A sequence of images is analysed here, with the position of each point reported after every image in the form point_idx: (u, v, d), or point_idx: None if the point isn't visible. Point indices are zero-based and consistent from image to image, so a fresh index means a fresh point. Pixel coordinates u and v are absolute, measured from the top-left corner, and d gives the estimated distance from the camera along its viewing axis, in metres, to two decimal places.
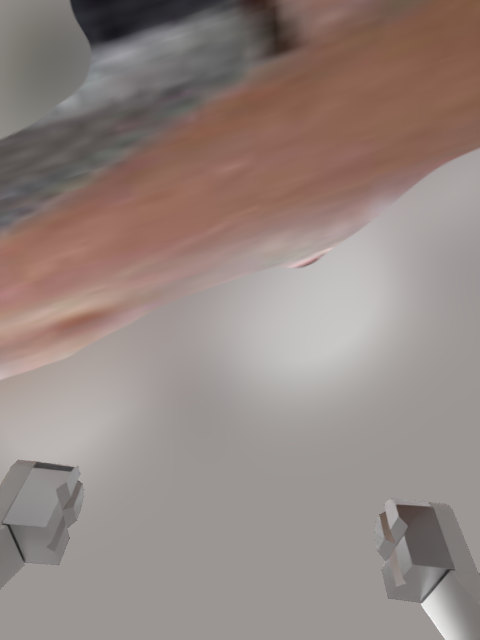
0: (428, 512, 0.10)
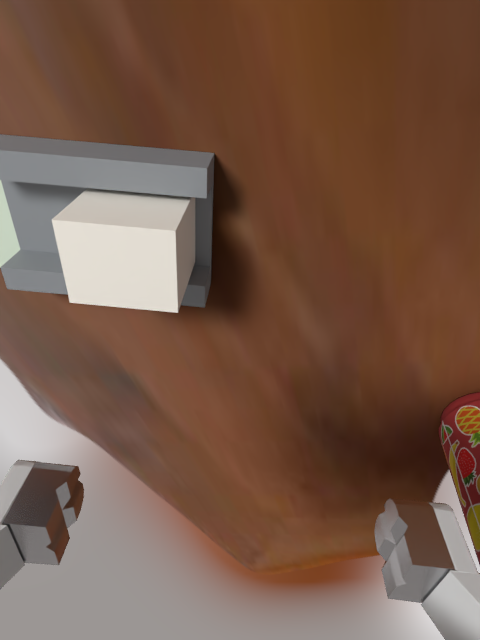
0: (428, 512, 0.10)
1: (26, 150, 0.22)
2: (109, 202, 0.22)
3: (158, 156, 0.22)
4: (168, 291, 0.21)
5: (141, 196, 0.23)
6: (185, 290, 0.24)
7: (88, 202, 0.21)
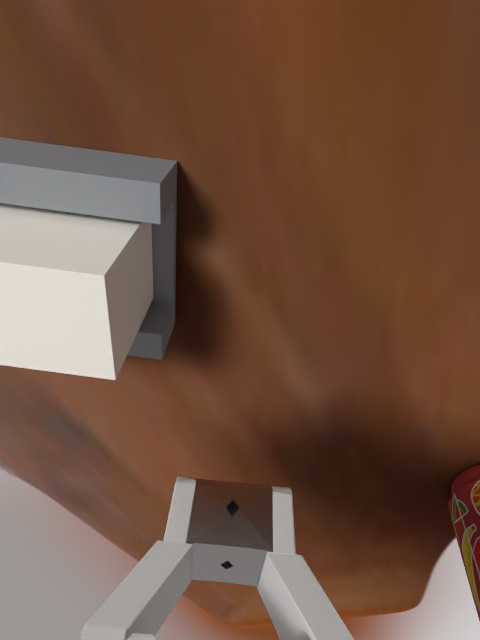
0: (265, 495, 0.10)
1: None
2: (23, 224, 0.16)
3: (96, 162, 0.16)
4: (99, 353, 0.15)
5: (72, 216, 0.17)
6: None
7: None
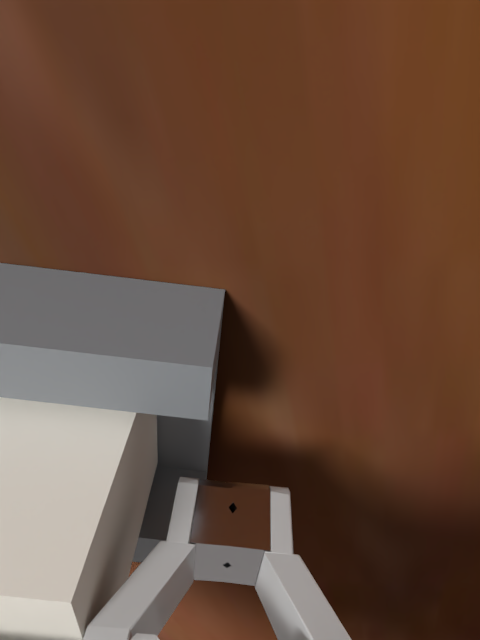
0: (263, 495, 0.10)
1: None
2: None
3: (94, 311, 0.09)
4: None
5: None
6: None
7: None
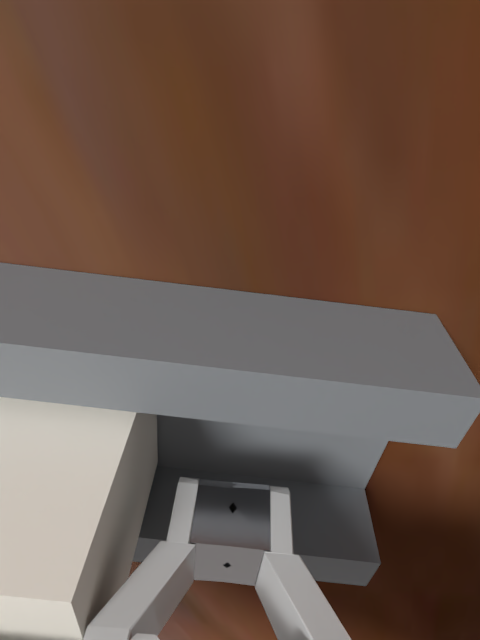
0: (263, 495, 0.10)
1: (21, 332, 0.08)
2: None
3: (338, 339, 0.09)
4: None
5: None
6: None
7: None
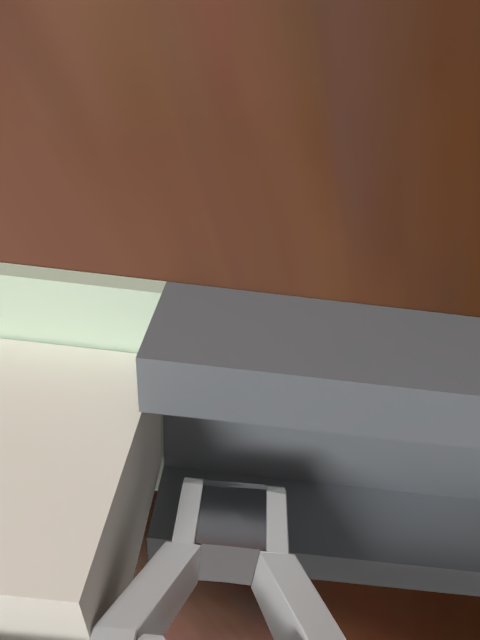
0: (259, 495, 0.10)
1: (294, 362, 0.09)
2: None
3: None
4: None
5: (28, 394, 0.10)
6: (132, 579, 0.11)
7: None
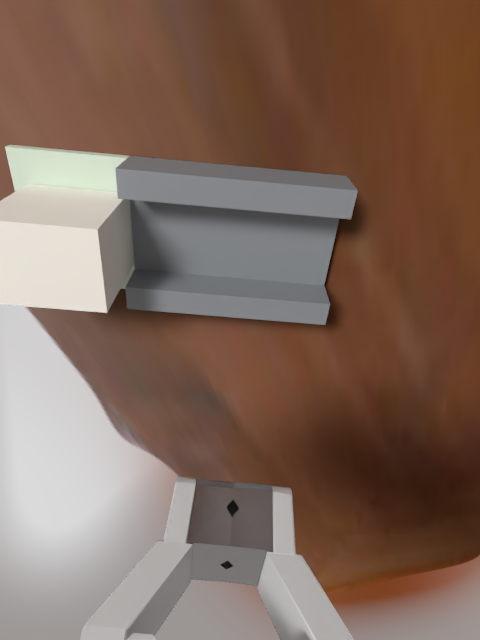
0: (265, 495, 0.10)
1: (178, 172, 0.22)
2: (36, 203, 0.22)
3: (301, 178, 0.23)
4: (95, 291, 0.21)
5: (71, 198, 0.23)
6: (118, 291, 0.24)
7: (15, 203, 0.22)
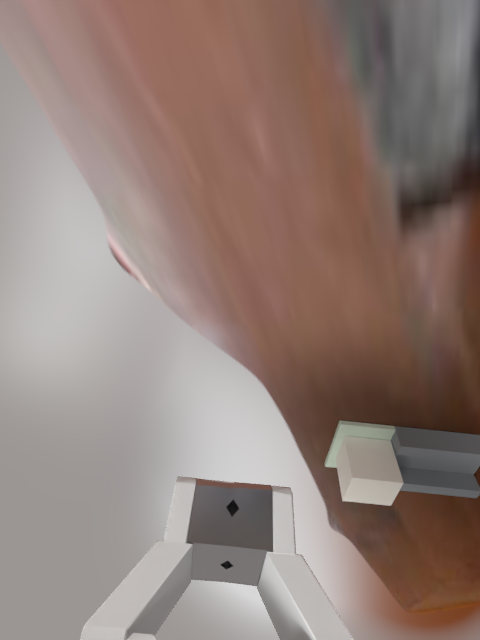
0: (265, 495, 0.10)
1: (426, 446, 0.49)
2: (363, 458, 0.49)
3: (478, 445, 0.50)
4: (390, 499, 0.49)
5: (372, 450, 0.50)
6: None
7: (355, 459, 0.49)
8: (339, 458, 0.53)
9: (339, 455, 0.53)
